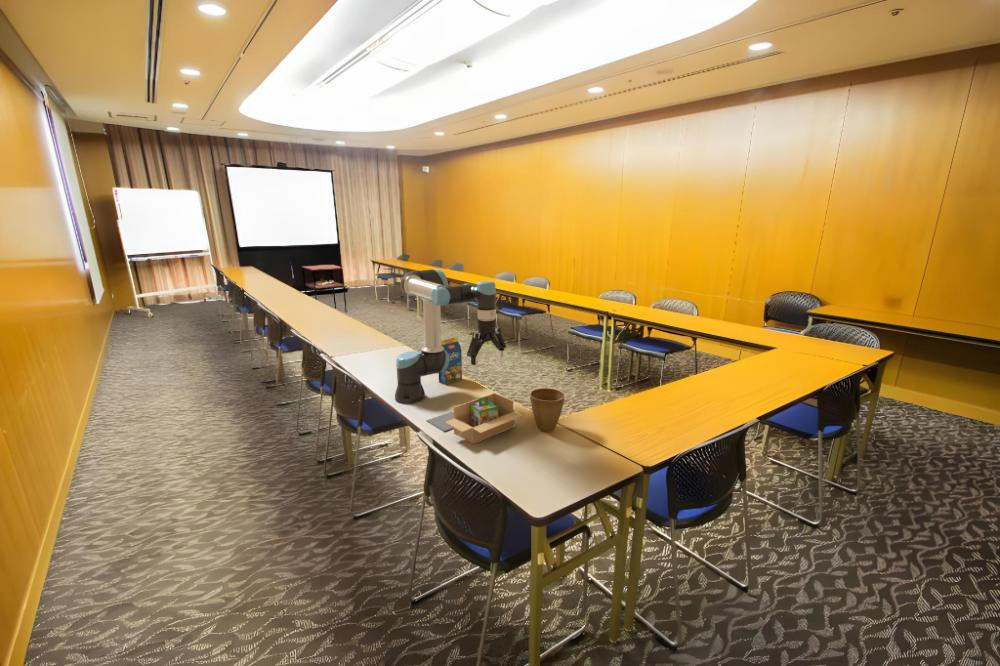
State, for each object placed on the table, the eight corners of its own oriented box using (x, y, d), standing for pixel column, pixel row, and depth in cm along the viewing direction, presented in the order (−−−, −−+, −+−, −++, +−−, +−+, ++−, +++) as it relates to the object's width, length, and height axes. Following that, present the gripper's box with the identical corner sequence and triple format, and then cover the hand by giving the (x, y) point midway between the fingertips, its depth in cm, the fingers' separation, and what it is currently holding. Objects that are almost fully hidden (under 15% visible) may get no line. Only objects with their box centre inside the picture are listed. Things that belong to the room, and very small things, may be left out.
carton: (444, 436, 183) (443, 410, 180) (494, 417, 201) (494, 393, 198) (471, 452, 170) (470, 424, 167) (522, 430, 188) (522, 404, 185)
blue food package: (462, 380, 249) (461, 337, 243) (445, 385, 241) (444, 341, 235) (455, 377, 254) (454, 335, 248) (438, 382, 245) (437, 339, 239)
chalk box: (480, 437, 183) (480, 404, 179) (470, 428, 190) (469, 396, 186) (499, 431, 187) (499, 399, 184) (488, 423, 195) (488, 392, 191)
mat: (426, 421, 197) (426, 420, 197) (451, 412, 206) (451, 411, 206) (444, 432, 187) (444, 430, 187) (470, 422, 196) (470, 421, 196)
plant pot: (560, 438, 181) (561, 402, 177) (525, 433, 185) (526, 398, 182) (566, 423, 195) (567, 389, 191) (533, 419, 199) (534, 386, 195)
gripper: (469, 325, 168) (470, 377, 173) (514, 316, 185) (514, 363, 190) (457, 322, 174) (458, 372, 179) (502, 313, 190) (502, 360, 195)
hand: (487, 368), depth 184 cm, fingers open, 13 cm apart
